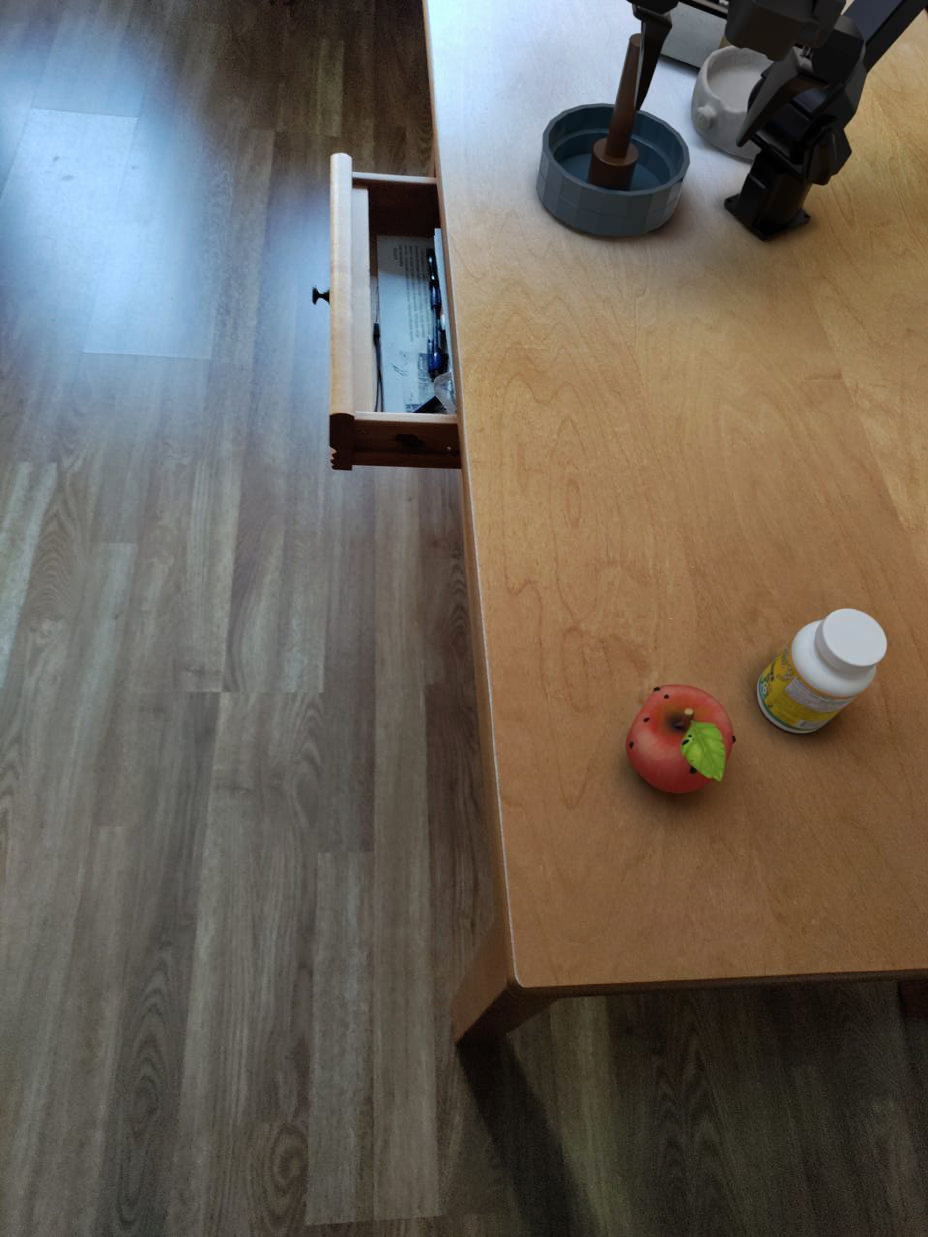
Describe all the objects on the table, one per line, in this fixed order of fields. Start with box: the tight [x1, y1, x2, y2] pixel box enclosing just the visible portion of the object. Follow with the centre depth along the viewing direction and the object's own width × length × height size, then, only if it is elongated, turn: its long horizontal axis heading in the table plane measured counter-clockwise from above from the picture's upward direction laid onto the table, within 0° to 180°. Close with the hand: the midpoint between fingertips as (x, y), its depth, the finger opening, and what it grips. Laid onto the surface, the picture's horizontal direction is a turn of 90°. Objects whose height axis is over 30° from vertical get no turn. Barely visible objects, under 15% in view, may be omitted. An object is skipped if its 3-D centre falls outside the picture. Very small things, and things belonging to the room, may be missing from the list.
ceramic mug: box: [660, 0, 732, 69], centre depth 97 cm, size 11×8×8 cm
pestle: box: [586, 32, 641, 192], centre depth 80 cm, size 4×4×14 cm
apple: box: [625, 683, 737, 794], centre depth 53 cm, size 8×7×10 cm
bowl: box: [535, 102, 691, 238], centre depth 84 cm, size 14×14×5 cm
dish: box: [690, 45, 774, 161], centre depth 91 cm, size 14×14×5 cm
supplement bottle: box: [756, 608, 888, 734], centre depth 56 cm, size 5×5×10 cm
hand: (687, 127), depth 71 cm, fingers open, 9 cm apart
